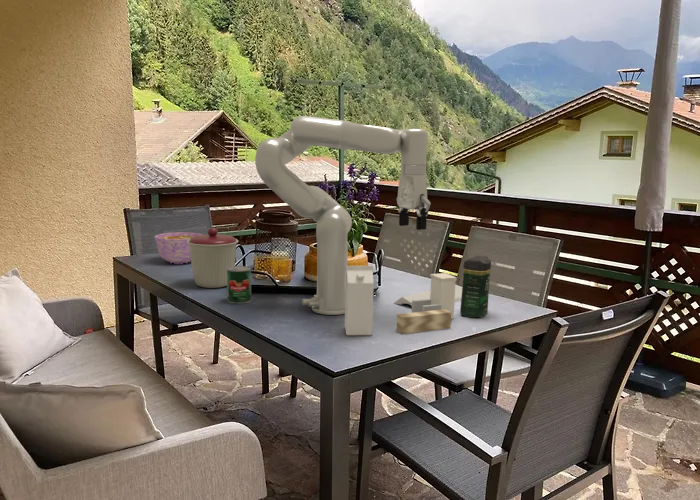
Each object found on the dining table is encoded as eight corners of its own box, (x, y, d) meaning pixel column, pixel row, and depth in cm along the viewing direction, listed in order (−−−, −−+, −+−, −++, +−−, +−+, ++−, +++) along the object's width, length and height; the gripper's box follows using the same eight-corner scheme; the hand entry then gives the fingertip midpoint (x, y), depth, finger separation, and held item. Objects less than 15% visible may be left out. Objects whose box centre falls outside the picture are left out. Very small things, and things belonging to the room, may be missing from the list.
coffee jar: (482, 320, 182) (486, 260, 178) (457, 316, 185) (460, 257, 182) (490, 312, 190) (494, 255, 187) (466, 308, 194) (470, 252, 191)
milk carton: (344, 327, 171) (346, 263, 168) (369, 327, 172) (371, 263, 168) (346, 335, 164) (348, 268, 161) (372, 335, 165) (374, 268, 161)
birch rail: (402, 334, 167) (402, 317, 166) (396, 331, 170) (397, 314, 169) (450, 328, 173) (451, 312, 172) (443, 325, 176) (444, 309, 176)
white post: (423, 322, 178) (425, 280, 175) (411, 316, 184) (413, 275, 182) (455, 319, 182) (457, 277, 180) (442, 312, 189) (444, 272, 186)
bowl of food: (160, 257, 264) (159, 232, 262) (206, 257, 266) (206, 232, 264) (150, 267, 245) (149, 239, 243) (200, 267, 247) (199, 239, 245)
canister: (180, 283, 219) (178, 226, 215) (224, 277, 230) (224, 223, 226) (201, 293, 205) (199, 233, 201) (247, 286, 216) (247, 229, 212)
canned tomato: (245, 296, 203) (244, 264, 201) (255, 301, 196) (255, 269, 194) (223, 299, 198) (222, 267, 196) (233, 305, 192) (232, 271, 190)
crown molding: (421, 313, 190) (421, 302, 189) (392, 305, 198) (393, 294, 198) (473, 298, 210) (474, 288, 209) (445, 291, 218) (446, 282, 218)
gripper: (388, 169, 184) (387, 224, 187) (418, 172, 169) (417, 232, 172) (408, 169, 187) (407, 223, 190) (440, 171, 172) (439, 230, 175)
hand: (412, 227), depth 181 cm, fingers open, 9 cm apart
